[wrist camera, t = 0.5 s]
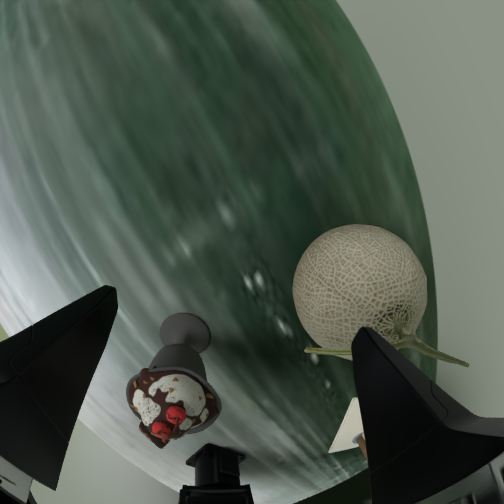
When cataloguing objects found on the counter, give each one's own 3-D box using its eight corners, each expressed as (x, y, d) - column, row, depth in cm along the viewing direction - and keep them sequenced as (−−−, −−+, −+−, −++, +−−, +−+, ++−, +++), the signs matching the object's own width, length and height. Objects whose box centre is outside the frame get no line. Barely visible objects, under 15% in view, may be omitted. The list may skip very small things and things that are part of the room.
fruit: (257, 237, 25) (315, 305, 10) (368, 206, 25) (491, 229, 11) (283, 335, 27) (337, 448, 13) (380, 299, 28) (474, 369, 13)
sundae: (200, 293, 25) (188, 411, 11) (228, 350, 27) (243, 475, 12) (140, 316, 25) (84, 428, 10) (171, 368, 26) (151, 487, 12)
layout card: (328, 451, 33) (328, 453, 33) (352, 397, 31) (353, 399, 30) (388, 436, 35) (389, 438, 35) (417, 384, 32) (418, 385, 32)
